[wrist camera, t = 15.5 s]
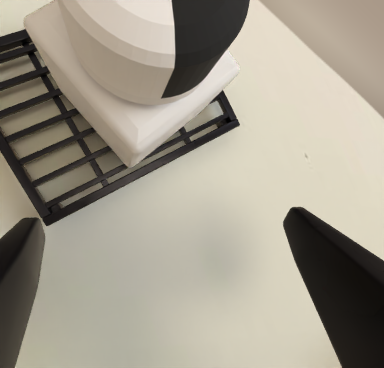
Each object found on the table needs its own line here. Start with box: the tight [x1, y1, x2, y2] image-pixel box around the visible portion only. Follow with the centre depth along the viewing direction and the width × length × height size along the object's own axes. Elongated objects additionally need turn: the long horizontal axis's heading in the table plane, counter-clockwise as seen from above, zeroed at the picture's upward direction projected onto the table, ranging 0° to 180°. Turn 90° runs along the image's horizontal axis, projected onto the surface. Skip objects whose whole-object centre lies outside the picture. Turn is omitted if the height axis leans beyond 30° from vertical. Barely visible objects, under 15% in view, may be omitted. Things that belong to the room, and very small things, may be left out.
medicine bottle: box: [24, 0, 250, 168], centre depth 12 cm, size 7×7×12 cm
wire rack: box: [0, 29, 240, 226], centre depth 19 cm, size 16×12×2 cm
